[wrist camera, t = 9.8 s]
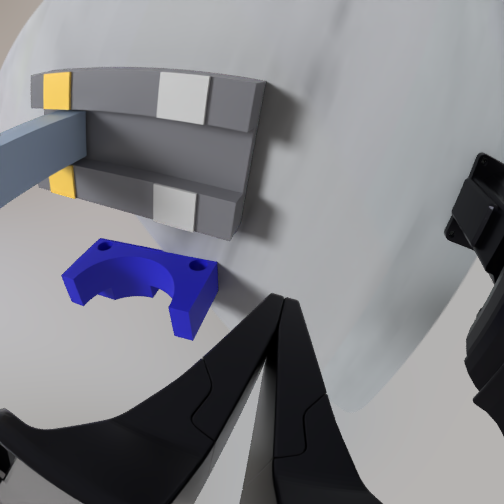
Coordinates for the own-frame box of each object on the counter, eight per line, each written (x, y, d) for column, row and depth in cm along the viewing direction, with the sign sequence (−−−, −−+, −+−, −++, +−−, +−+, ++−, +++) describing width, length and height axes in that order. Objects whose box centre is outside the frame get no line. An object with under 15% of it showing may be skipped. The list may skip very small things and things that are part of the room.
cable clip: (110, 274, 30) (77, 313, 25) (100, 237, 27) (61, 275, 22) (219, 301, 28) (194, 352, 23) (218, 260, 25) (188, 312, 20)
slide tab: (85, 110, 18) (-24, 158, 11) (86, 155, 21) (-11, 216, 13) (59, 109, 19) (-42, 154, 11) (61, 151, 21) (-31, 206, 13)
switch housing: (266, 81, 16) (255, 83, 14) (240, 222, 22) (229, 242, 20) (52, 70, 18) (29, 75, 16) (57, 176, 24) (37, 188, 22)
